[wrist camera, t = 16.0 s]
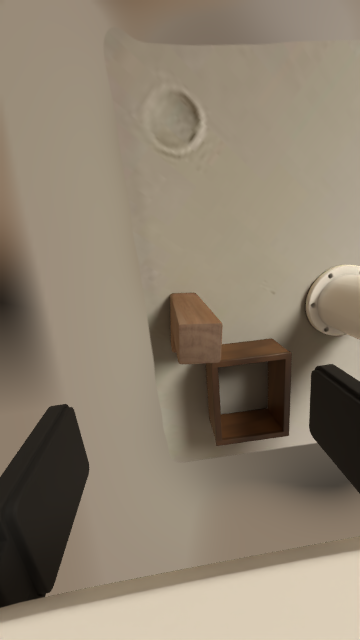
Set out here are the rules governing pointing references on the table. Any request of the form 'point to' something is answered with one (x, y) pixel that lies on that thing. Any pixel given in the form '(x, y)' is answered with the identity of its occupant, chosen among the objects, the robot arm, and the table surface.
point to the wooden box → (279, 386)
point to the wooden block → (194, 330)
